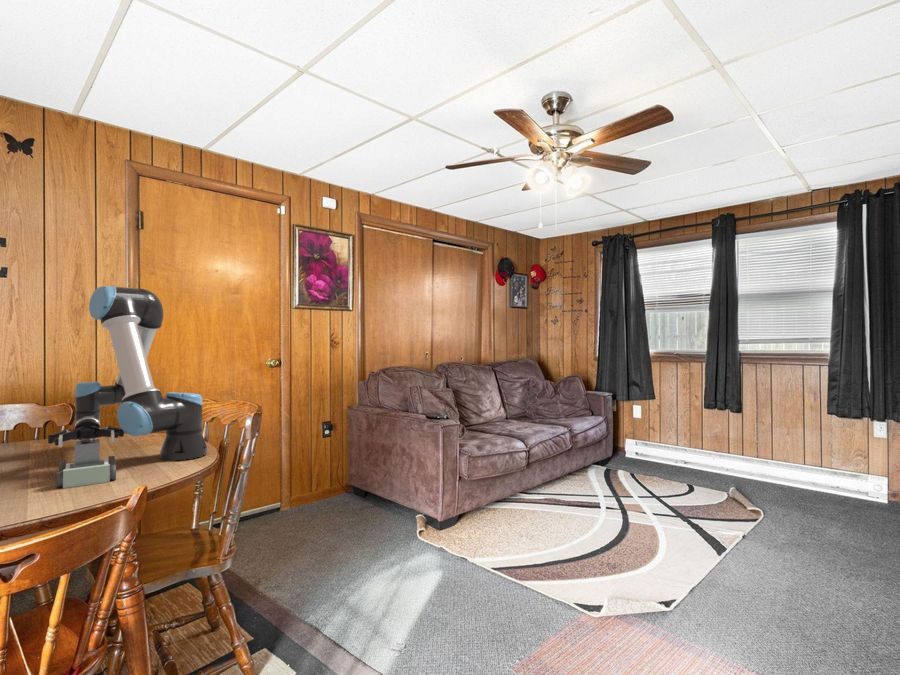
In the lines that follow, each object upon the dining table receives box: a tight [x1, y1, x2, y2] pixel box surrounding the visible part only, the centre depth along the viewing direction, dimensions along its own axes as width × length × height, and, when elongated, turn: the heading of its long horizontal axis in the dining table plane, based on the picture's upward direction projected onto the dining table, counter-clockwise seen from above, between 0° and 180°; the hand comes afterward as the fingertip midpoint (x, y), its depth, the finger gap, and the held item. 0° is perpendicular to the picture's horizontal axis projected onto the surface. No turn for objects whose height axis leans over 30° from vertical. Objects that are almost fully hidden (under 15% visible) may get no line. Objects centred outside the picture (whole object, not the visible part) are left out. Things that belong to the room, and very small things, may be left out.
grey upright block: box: [74, 438, 101, 468], centre depth 150 cm, size 6×6×10 cm
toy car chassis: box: [55, 455, 117, 489], centre depth 150 cm, size 17×14×5 cm
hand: (87, 440), depth 156 cm, fingers open, 13 cm apart
